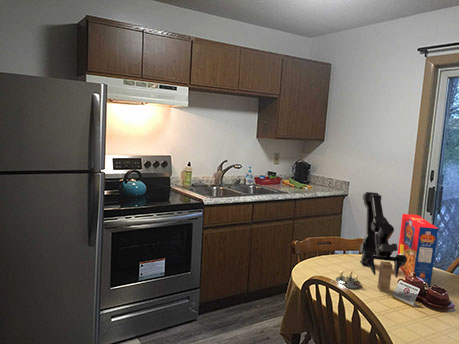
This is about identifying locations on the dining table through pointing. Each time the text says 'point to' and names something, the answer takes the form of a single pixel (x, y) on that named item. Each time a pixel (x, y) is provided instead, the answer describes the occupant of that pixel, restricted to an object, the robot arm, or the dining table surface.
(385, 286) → the walnut block
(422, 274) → the pasta box
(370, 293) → the dining table surface
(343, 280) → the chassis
